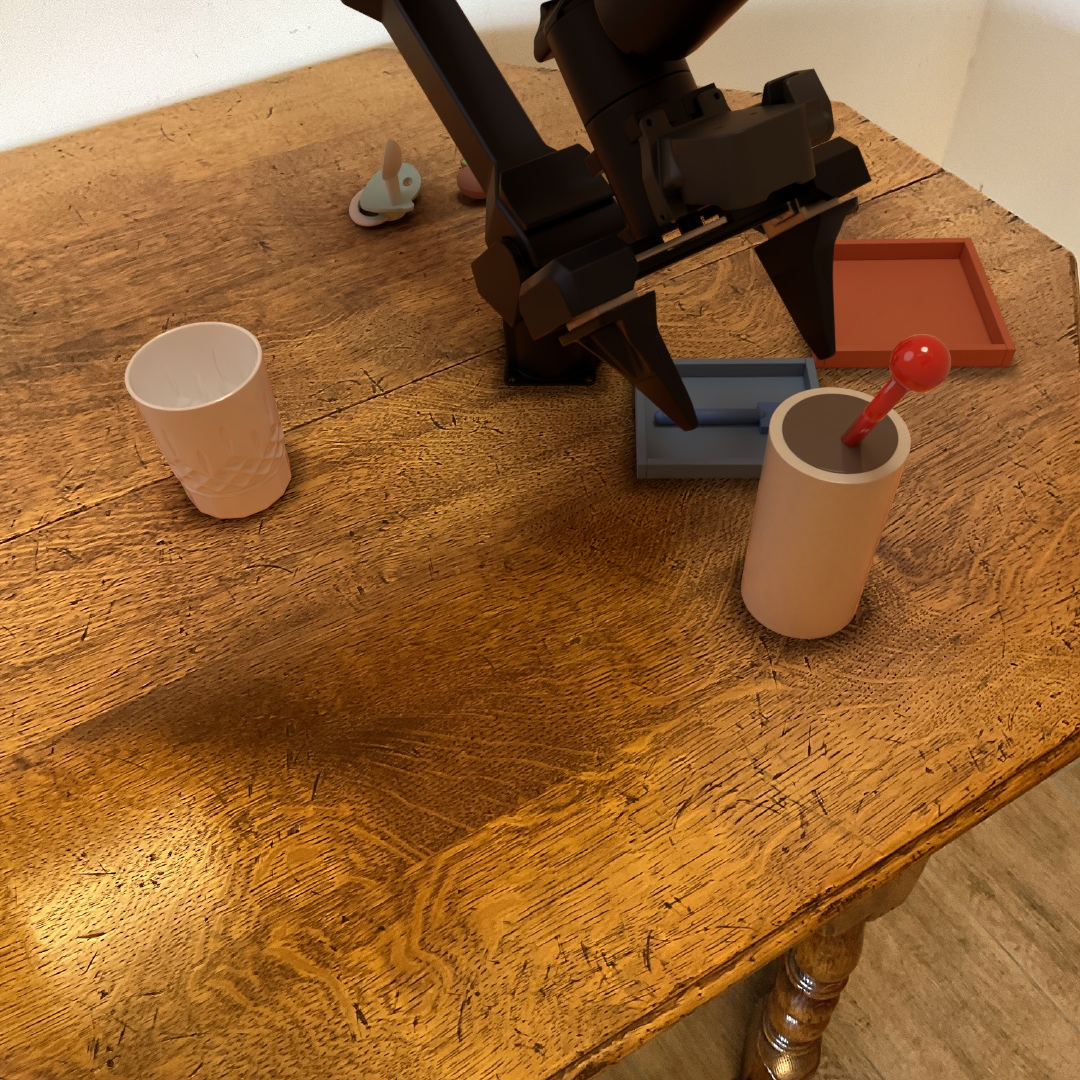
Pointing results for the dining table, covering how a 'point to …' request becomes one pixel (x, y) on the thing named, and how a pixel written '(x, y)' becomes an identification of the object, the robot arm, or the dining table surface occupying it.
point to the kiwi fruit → (469, 182)
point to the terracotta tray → (914, 302)
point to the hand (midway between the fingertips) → (761, 392)
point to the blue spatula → (731, 416)
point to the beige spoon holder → (830, 495)
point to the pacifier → (387, 190)
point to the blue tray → (717, 444)
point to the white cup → (213, 416)
